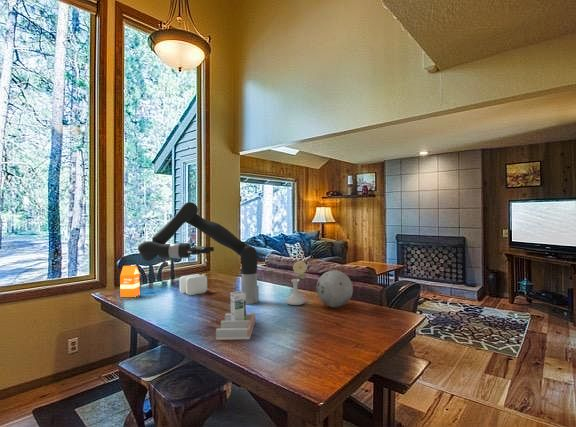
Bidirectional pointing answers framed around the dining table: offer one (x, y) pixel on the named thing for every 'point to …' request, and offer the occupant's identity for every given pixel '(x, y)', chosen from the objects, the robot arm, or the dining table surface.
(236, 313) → the syrup box
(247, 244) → the robot arm
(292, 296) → the flower in vase
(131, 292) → the orange juice
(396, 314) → the dining table surface
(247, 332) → the divided tray
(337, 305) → the moon model
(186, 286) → the cable organizer
